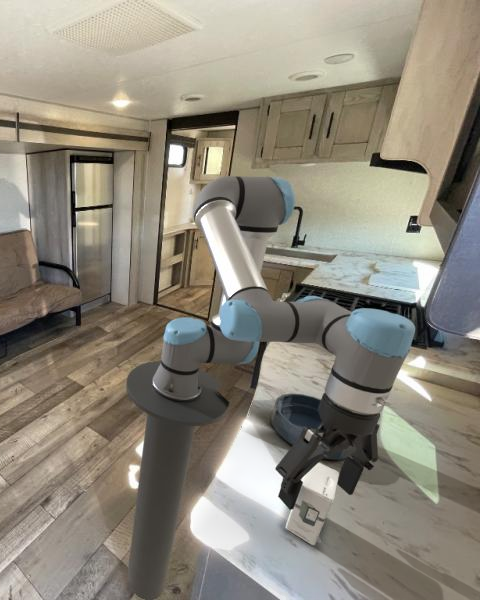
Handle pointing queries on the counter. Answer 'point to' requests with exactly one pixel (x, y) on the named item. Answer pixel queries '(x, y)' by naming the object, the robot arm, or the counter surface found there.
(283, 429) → the bowl
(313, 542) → the ink box
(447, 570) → the counter surface
